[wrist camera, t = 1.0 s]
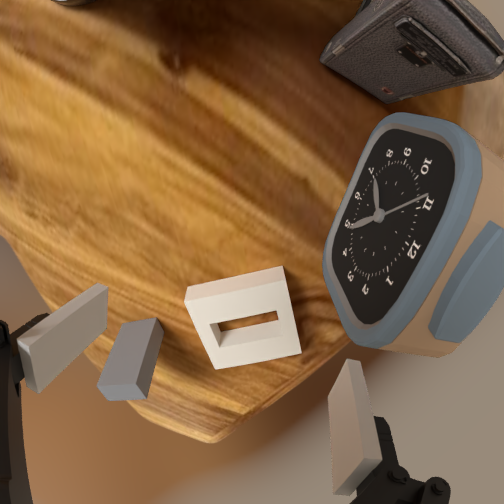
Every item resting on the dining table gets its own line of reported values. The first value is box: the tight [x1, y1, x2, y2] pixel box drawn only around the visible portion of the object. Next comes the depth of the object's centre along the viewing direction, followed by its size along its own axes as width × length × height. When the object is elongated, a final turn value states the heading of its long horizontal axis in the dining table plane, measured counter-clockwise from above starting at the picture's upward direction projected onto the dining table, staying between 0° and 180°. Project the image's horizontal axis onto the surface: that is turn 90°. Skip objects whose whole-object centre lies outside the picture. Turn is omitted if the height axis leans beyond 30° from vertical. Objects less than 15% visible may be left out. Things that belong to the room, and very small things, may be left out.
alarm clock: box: [322, 112, 504, 358], centre depth 28 cm, size 21×10×22 cm, turn 162°
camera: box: [319, 0, 504, 104], centre depth 20 cm, size 11×17×20 cm, turn 151°
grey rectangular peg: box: [97, 317, 164, 401], centre depth 40 cm, size 3×6×13 cm, turn 104°
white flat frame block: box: [184, 266, 302, 370], centre depth 44 cm, size 13×13×4 cm
